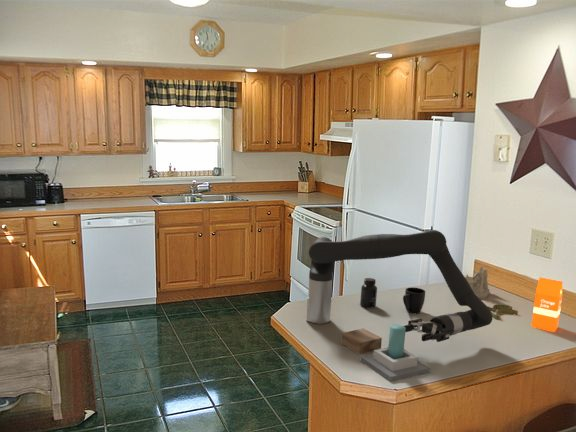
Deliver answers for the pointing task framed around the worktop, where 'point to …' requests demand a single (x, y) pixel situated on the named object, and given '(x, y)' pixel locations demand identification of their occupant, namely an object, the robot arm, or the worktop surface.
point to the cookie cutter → (502, 310)
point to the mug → (414, 300)
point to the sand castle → (479, 283)
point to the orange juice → (547, 304)
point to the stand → (361, 341)
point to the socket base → (394, 365)
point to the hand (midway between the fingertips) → (413, 333)
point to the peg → (396, 341)
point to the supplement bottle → (368, 293)
